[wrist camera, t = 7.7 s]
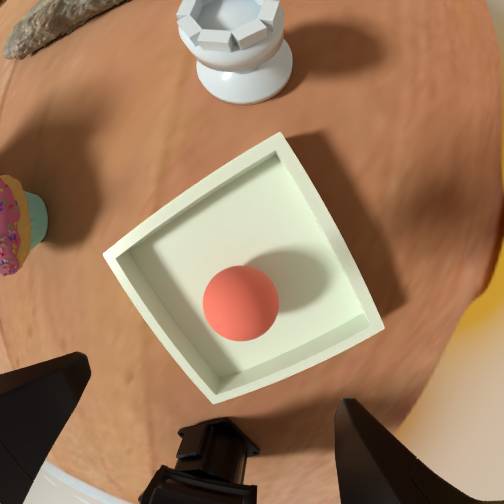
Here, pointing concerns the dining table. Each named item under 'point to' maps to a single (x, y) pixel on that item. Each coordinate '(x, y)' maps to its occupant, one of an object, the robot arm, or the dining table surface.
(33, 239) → the cupcake
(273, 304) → the ball
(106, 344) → the dining table surface
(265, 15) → the chess rook
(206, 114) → the dining table surface
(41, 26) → the long grey stone
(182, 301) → the tray
